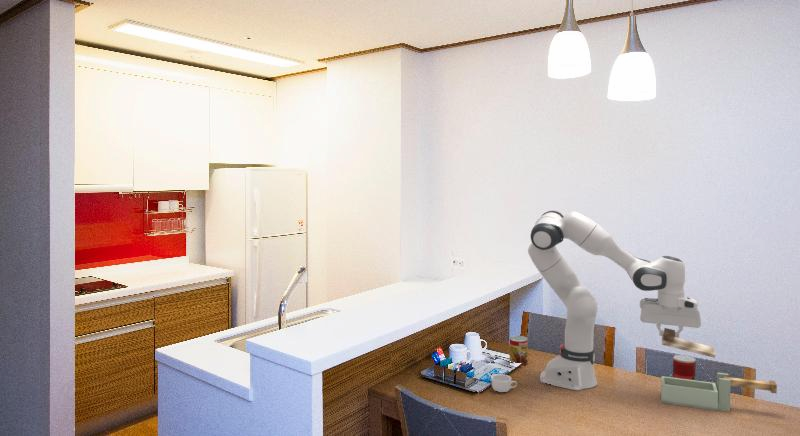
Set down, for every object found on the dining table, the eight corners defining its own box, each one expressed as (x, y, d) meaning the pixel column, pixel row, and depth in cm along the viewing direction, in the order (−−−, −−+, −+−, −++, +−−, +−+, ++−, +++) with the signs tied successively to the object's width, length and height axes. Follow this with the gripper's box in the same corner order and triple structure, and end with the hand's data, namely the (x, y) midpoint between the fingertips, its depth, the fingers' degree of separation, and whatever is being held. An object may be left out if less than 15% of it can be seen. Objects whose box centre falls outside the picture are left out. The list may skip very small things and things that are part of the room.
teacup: (490, 393, 213) (490, 380, 212) (492, 386, 220) (492, 373, 220) (516, 396, 210) (516, 382, 210) (517, 388, 218) (517, 375, 217)
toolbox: (661, 402, 202) (662, 372, 201) (660, 393, 210) (661, 364, 209) (730, 412, 193) (731, 381, 192) (726, 402, 201) (727, 372, 200)
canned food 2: (697, 389, 214) (698, 361, 213) (675, 387, 215) (676, 360, 214) (691, 381, 221) (692, 355, 220) (670, 380, 223) (670, 354, 222)
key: (724, 386, 195) (725, 378, 194) (723, 382, 198) (723, 374, 198) (776, 393, 188) (776, 385, 188) (774, 389, 192) (774, 380, 192)
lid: (662, 344, 200) (664, 332, 199) (661, 337, 208) (664, 326, 207) (715, 357, 193) (717, 345, 192) (712, 349, 201) (715, 338, 200)
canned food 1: (524, 368, 238) (524, 342, 237) (507, 365, 242) (507, 339, 241) (529, 363, 245) (529, 337, 244) (512, 360, 249) (512, 334, 248)
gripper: (639, 299, 203) (638, 335, 204) (702, 304, 194) (700, 342, 196) (640, 295, 208) (638, 330, 210) (700, 300, 200) (699, 337, 201)
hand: (669, 336), depth 203 cm, fingers closed on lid, 4 cm apart
